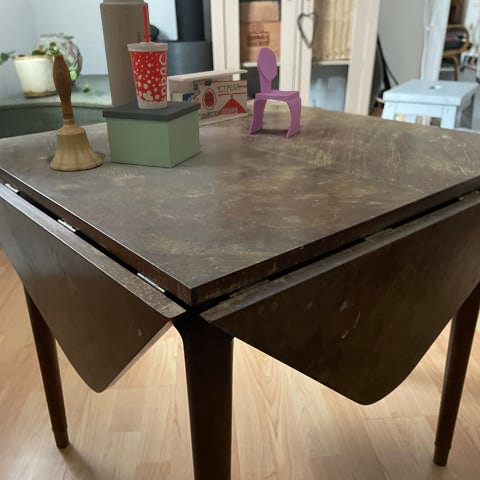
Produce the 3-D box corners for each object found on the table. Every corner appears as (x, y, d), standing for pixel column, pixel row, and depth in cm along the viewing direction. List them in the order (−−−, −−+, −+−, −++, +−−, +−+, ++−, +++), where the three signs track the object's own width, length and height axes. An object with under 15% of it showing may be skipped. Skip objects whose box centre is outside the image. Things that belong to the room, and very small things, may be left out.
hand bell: (40, 164, 87) (18, 55, 79) (85, 155, 92) (69, 51, 84) (66, 174, 82) (46, 58, 74) (112, 164, 87) (98, 54, 79)
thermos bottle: (168, 139, 102) (154, -38, 88) (140, 148, 96) (121, -40, 82) (136, 135, 106) (118, -36, 92) (107, 143, 100) (83, -38, 86)
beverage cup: (152, 111, 83) (143, 6, 76) (125, 107, 86) (114, 6, 79) (179, 105, 87) (173, 5, 80) (153, 102, 91) (144, 5, 84)
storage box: (108, 162, 88) (101, 110, 84) (144, 146, 98) (139, 99, 93) (172, 168, 85) (167, 114, 81) (202, 151, 94) (200, 102, 90)
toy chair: (288, 139, 101) (291, 50, 94) (245, 135, 105) (245, 49, 97) (303, 130, 108) (307, 46, 100) (262, 127, 111) (263, 45, 103)
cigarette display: (185, 128, 110) (182, 78, 106) (168, 125, 114) (164, 76, 109) (251, 114, 123) (251, 69, 118) (234, 112, 126) (233, 68, 121)
